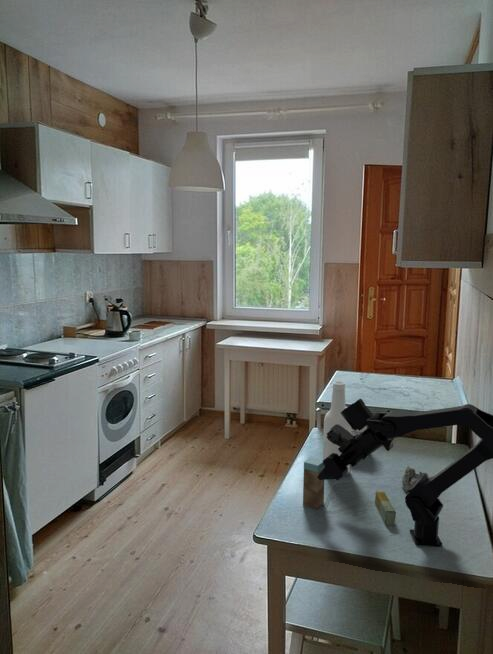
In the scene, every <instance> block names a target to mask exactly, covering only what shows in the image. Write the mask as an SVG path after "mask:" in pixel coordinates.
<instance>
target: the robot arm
mask: <svg viewBox="0 0 493 654" xmlns="http://www.w3.org/2000/svg"><path fill="white" fill-rule="evenodd" d="M346 407H347V408H345V409H344V410H343V411H342V412H341V415H342V416H343V417H344V419H345V420H346V421H347V422H348V424H349V425H350V426H351V428H352V429H353V430H355V431H356V430H357V429H358V430H359V431H360V430H361V429H363V428H364V427H365V426H367V429H366V430H364V431H363V432H362V433H360V434H359V435H358V434H357V435H355V436H353V435H352V434H351V433H350V432H349V431H347V430H346V429H344V428H343V427H342V426H340V425H338V424H336V425H335V426H333V427H332V428H331V429H330V431H329V432H328V433H327V439H328V440H329V441H330V442H332V443H333V444H336V445H338V446H340V447H339V448H338V450H339V451H340V453H342V454H341V455H340V456H338V454H335V453H332V454H331V455H329V456H328V457H327V458H325V459H324V460H323V459H322V460H323V464H324V465H325V467H324V469H323V470H322V471H321V472H320V474H319V475H318V476H317V478H318V479H319V480H324V481H325V480H335V481H337V482H338V481H340V480H341V479H342V478H344V477H345V476H347V475H348V474H349V473H348V468H347V466H348V465H350V467H352V468H353V467H356V465H357V464H359V463H360V462H361V461H363V460H365V459H366V458H368V457H369V456H370V455H371V454H373V453H374V452H376V451H377V450H379V449H380V448H382V446H383V447H384V449H385V450H386V451H387V452H389V451H390V450H392V449H393V448H394V440H395V438H399V437H402V436H405V435H407V434H409V433H412V432H414V431H419V430H427V429H434V428H435V429H436V428H443V427H452V426H458V425H459V426H460V425H461V426H462V425H463V426H464V425H465V426H466V427H467V428H469V429H470V430H471V432H473V433H474V434H475V435H476V436H477V437H478V438H479V439H480V440H478V442H477V443H475V445H473V446H472V447H471V448H469V449H468V450H467V451H466V452H464V453H463V454H461V456H459V457H458V458H457V459H455V460H453V462H451V463H450V464H448V465H447V466H446V467H445V468H443V469H442V470H440V471H439V472H438V473H437V474H435V475H434V476H430V478H428V477H427V475H426V474H424V475H423V476H422V477H421V478H420V479H419V480H416V481H414V482H413V483H412V485H411V486H410V487H409V489H408V490H407V491H406V492H407V494H406V495H405V497H404V500H405V505H406V507H407V509H409V511H410V514H411V518H412V522H414V525H413V527H414V528H413V529H409V534H410V536H411V538H412V539H413V541H414V544H415V545H416V546H423V547H427V546H428V547H443V542H442V541H441V539H440V537H439V525H440V516H439V514H440V513H441V512H442V509H443V508H444V504H443V503H442V502H441V500H440V499H439V497H440V496H441V495H442V493H444V492H445V491H447V490H448V489H449V488H450V487H452V486H454V485H455V484H456V483H457V482H459V481H460V480H461V479H463V478H464V477H465V476H467V475H468V474H469V473H470V474H471V472H472V471H474V470H476V469H477V468H478V467H479V466H480V465H482V464H483V463H485V462H487V461H489V460H493V414H490V413H488V412H486V411H484V410H481V409H480V408H478V407H476V406H475V405H472V403H467V404H463V405H461V406H459V405H458V406H452V407H445V408H437V409H431V410H424V411H423V410H422V411H409V410H397V409H394V410H390V411H389V412H377V411H376V412H375V413H374V414H373V413H372V411H371V410H370V409H369V407H368V406H366V403H365V401H364V400H363V399H362V398H359V399H357V400H356V401H355V402H353V403H351V404H349V405H348V406H346ZM347 473H348V474H347ZM346 474H347V475H346Z"/></svg>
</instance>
